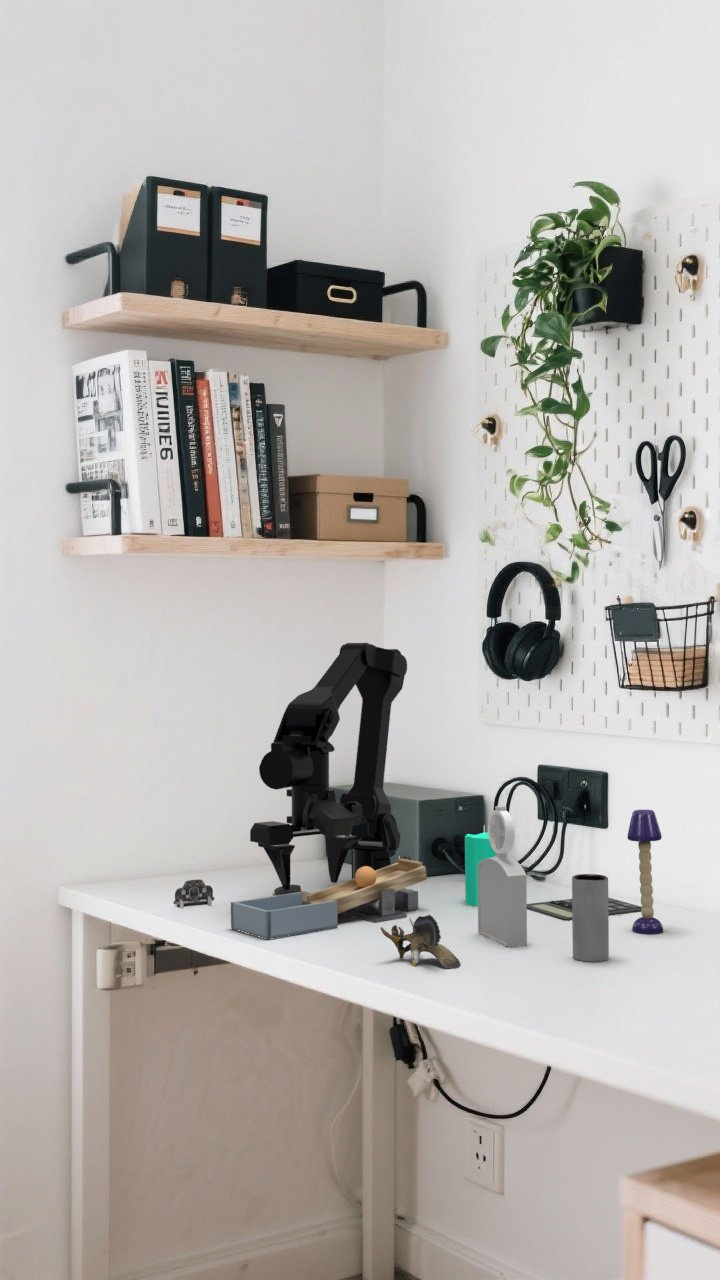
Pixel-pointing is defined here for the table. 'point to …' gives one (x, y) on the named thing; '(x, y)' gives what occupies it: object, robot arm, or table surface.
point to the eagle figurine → (423, 942)
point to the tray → (282, 916)
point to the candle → (475, 863)
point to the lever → (355, 895)
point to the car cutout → (194, 894)
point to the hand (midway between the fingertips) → (310, 885)
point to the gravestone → (502, 886)
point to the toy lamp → (645, 867)
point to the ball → (365, 876)
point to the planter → (590, 917)
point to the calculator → (564, 908)
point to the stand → (386, 905)
